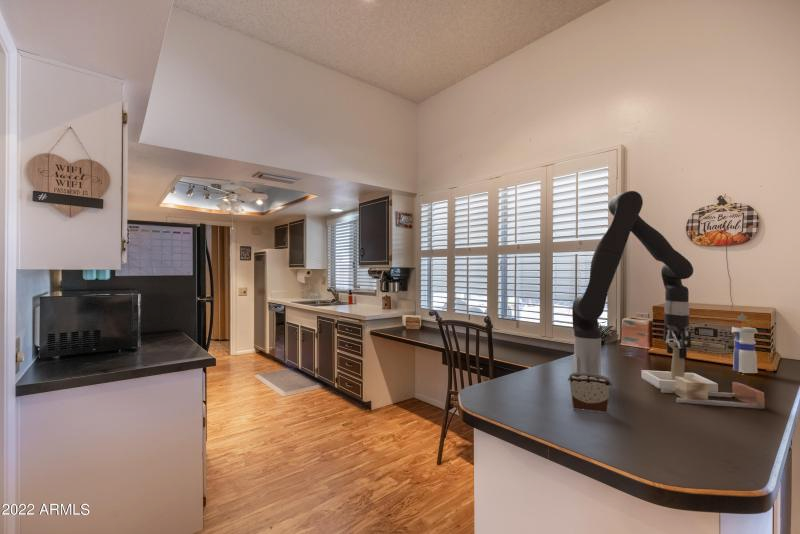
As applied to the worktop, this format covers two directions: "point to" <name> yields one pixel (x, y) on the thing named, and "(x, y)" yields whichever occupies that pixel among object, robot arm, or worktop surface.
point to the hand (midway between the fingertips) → (676, 355)
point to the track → (738, 391)
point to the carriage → (691, 388)
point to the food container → (590, 391)
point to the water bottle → (744, 349)
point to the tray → (665, 380)
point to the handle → (676, 362)
